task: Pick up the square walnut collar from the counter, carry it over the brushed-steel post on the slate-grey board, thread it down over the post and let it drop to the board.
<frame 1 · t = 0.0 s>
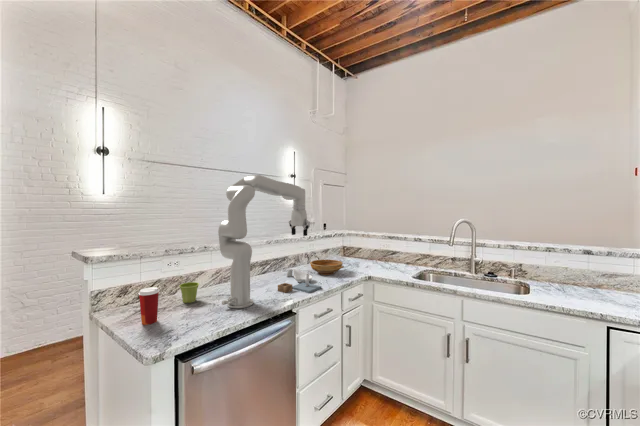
hand: (299, 235, 176), 31 cm above the worktop, tool pointing down, fingers open, 9 cm apart
collar: (285, 290, 164), on the worktop
post board: (306, 288, 168), on the worktop
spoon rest: (298, 280, 188), on the worktop
paper cup: (149, 322, 119), on the worktop
plant pot: (189, 301, 145), on the worktop
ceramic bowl: (326, 273, 207), on the worktop
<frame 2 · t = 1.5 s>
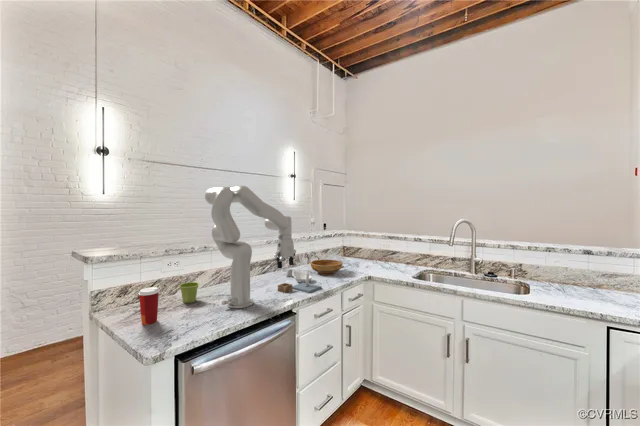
hand: (285, 266, 164), 14 cm above the worktop, tool pointing down, fingers open, 9 cm apart
nothing on the worktop moved.
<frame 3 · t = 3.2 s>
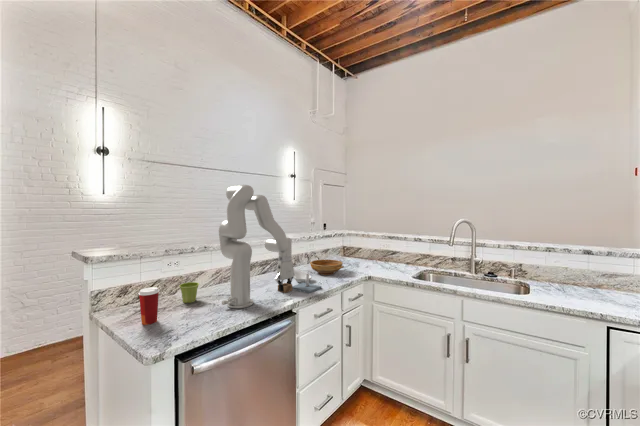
hand: (285, 289, 164), 1 cm above the worktop, tool pointing down, fingers closed on collar, 6 cm apart
collar: (285, 290, 164), on the worktop, touching gripper
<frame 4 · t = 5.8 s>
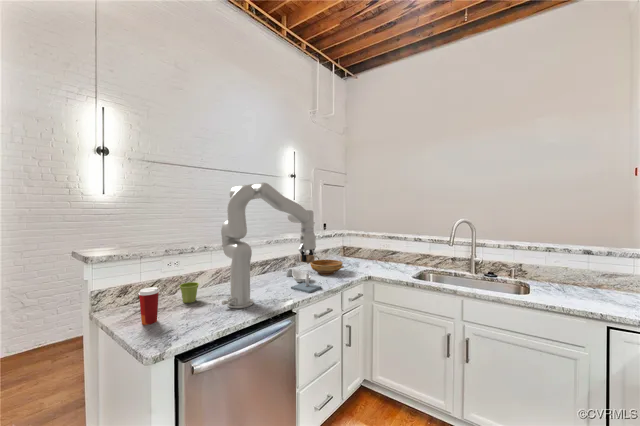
hand: (307, 260, 169), 17 cm above the worktop, tool pointing down, fingers closed on collar, 6 cm apart
collar: (307, 261, 169), point 16 cm above the worktop, touching gripper
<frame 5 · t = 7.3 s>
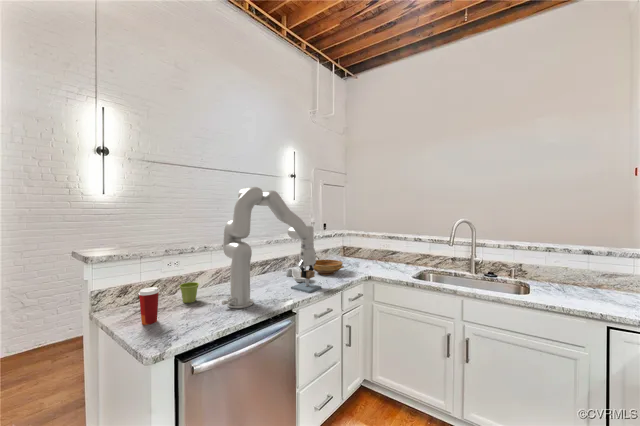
hand: (307, 275, 169), 7 cm above the worktop, tool pointing down, fingers closed on collar, 6 cm apart
collar: (307, 277, 169), point 7 cm above the worktop, touching gripper
when the fingers open (5 cm above the worktop, at t = 8.4 s): collar drops 2 cm, resting on post board.
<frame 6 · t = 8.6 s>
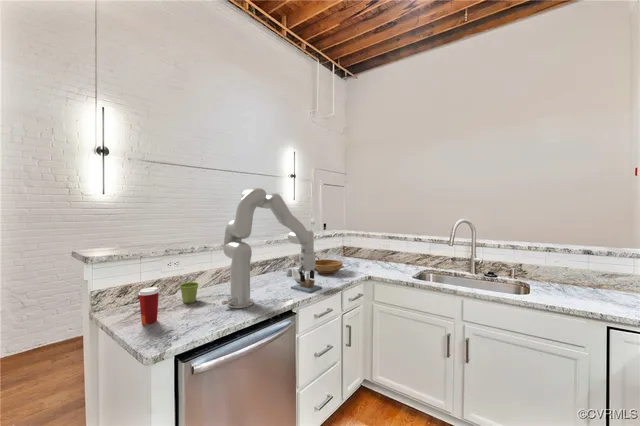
hand: (307, 279, 169), 5 cm above the worktop, tool pointing down, fingers open, 8 cm apart
collar: (307, 286, 169), point 1 cm above the worktop, touching post board
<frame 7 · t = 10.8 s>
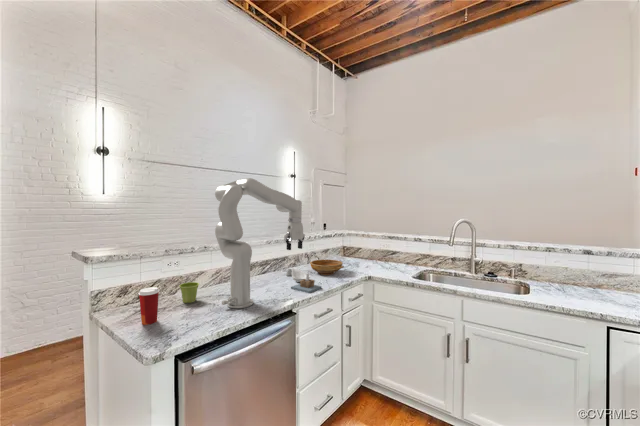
hand: (294, 249, 168), 24 cm above the worktop, tool pointing down, fingers open, 9 cm apart
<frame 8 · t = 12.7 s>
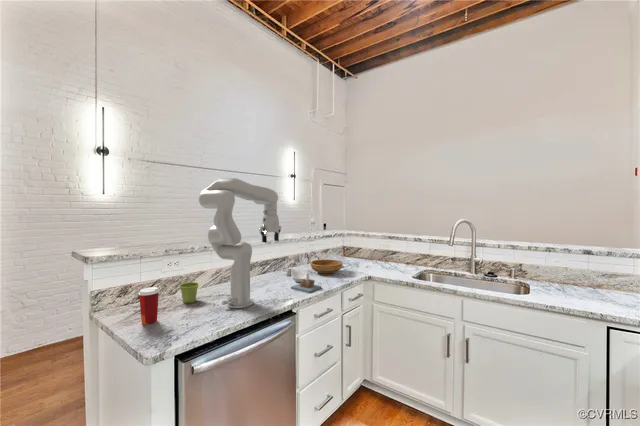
hand: (270, 241, 167), 28 cm above the worktop, tool pointing down, fingers open, 9 cm apart
at the end: collar 0.1 cm off-centre on the post board, point 1.2 cm above the post board's base; the gripper is holding nothing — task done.
